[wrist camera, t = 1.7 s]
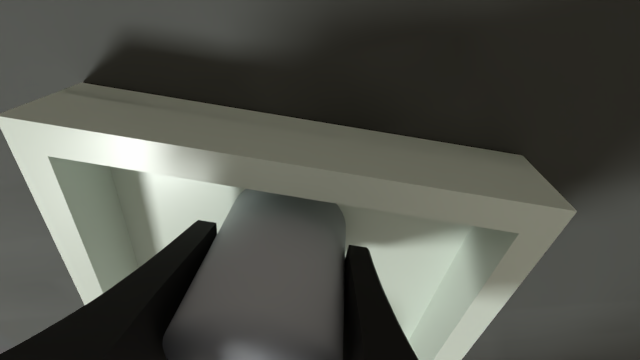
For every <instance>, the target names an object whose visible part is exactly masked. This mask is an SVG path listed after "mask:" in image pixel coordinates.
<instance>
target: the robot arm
mask: <svg viewBox="0 0 640 360" xmlns="http://www.w3.org/2000/svg"><path fill="white" fill-rule="evenodd" d="M216 236H217V225H216V223H214V222H208V221H202V220H197V221H196V222H195V223H193V224H192V225H191V226H190V227H189V228H187V229H186V230H185V231H184V232H183V233H181V234H180V235H179V236H178V237H177V238H175V239H174V240H173V241H172V242H171V243H169V244H168V245H167V246H166V247H165V248H163V249H162V250H161V251H160V252H158V253H157V254H156V255H154V256H153V257H152V258H151V259H149V260H148V261H147V262H146V263H144V264H143V265H142V266H140V267H139V268H138V269H136V270H135V271H134V272H132V273H131V274H130V275H128V276H127V277H125V278H124V279H123V280H121V281H120V282H119V283H117V284H116V285H114V286H113V287H112V288H110V289H109V290H107V291H106V292H104V293H103V294H101V295H100V296H98V297H97V298H95V299H94V300H92V301H91V302H89V303H88V304H86V305H85V306H83V307H81V308H80V309H78V310H77V311H75V312H74V313H72V314H70V315H69V316H67V317H65V318H64V319H62V320H60V321H59V322H57V323H55V324H54V325H52V326H50V327H48V328H47V329H45V330H43V331H42V332H40V333H38V334H36V335H35V336H33V337H31V338H29V339H28V340H26V341H24V342H22V343H20V344H19V345H17V346H15V347H13V348H11V349H9V350H7V351H5V352H3V353H2V354H0V360H168V359H167V357H166V356H165V353H164V350H163V345H162V343H163V337H164V334H165V332H166V330H167V328H168V326H169V324H170V322H171V320H172V319H173V317H174V315H175V313H176V311H177V309H178V307H179V305H180V303H181V302H182V300H183V298H184V296H185V294H186V292H187V290H188V288H189V287H190V285H191V283H192V281H193V279H194V277H195V275H196V273H197V271H198V270H199V268H200V266H201V264H202V262H203V260H204V258H205V256H206V254H207V253H208V251H209V249H210V247H211V245H212V243H213V241H214V239H215V237H216ZM343 360H418V358H417V356H416V354H415V352H414V351H413V349H412V347H411V345H410V343H409V342H408V340H407V338H406V336H405V334H404V332H403V330H402V328H401V326H400V324H399V322H398V320H397V318H396V316H395V314H394V312H393V310H392V307H391V305H390V303H389V301H388V299H387V296H386V294H385V292H384V289H383V287H382V285H381V282H380V280H379V277H378V274H377V272H376V269H375V266H374V264H373V261H372V258H371V254H370V251H369V249H368V248H367V247H361V246H355V245H349V246H348V250H347V253H346V257H345V289H344V332H343Z"/></svg>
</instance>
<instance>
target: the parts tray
mask: <svg viewBox="0 0 640 360" xmlns="http://www.w3.org/2000/svg"><path fill="white" fill-rule="evenodd" d="M0 128H1V130H2V132H3V134H4V136H5V138H6V141H7V143H8V145H9V147H10V149H11V151H12V153H13V155H14V157H15V159H16V162H17V164H18V166H19V168H20V170H21V172H22V174H23V176H24V178H25V181H26V183H27V185H28V187H29V189H30V191H31V193H32V195H33V197H34V199H35V202H36V204H37V206H38V208H39V210H40V212H41V214H42V216H43V218H44V220H45V223H46V225H47V227H48V229H49V231H50V233H51V235H52V237H53V239H54V242H55V244H56V246H57V248H58V250H59V252H60V254H61V256H62V258H63V260H64V263H65V265H66V267H67V269H68V271H69V273H70V275H71V277H72V279H73V282H74V284H75V286H76V288H77V290H78V292H79V294H80V296H81V298H82V300H83V303H84V305H86V304H88V303H89V302H91V301H92V300H94V299H95V298H97V297H98V296H100V295H101V294H103V293H104V292H106V291H107V290H109V289H110V288H112V287H113V286H114V285H116V284H117V283H119V282H120V281H121V280H123V279H124V278H125V277H127V276H128V275H130V274H131V273H132V272H134V271H135V270H136V269H138V268H139V267H140V266H142V265H143V264H144V263H146V262H147V261H148V260H149V259H151V258H152V257H153V256H154V255H156V254H157V253H158V252H160V251H161V250H162V249H163V248H165V247H166V246H167V245H168V244H169V243H171V242H172V241H173V240H174V239H175V238H177V237H178V236H179V235H180V234H181V233H183V232H184V231H185V230H186V229H187V228H189V227H190V226H191V225H192V224H193V223H195V222H196V221H197V220H202V221H208V222H214V223H216V225H217V234H218V232H219V230H220V228H221V226H222V224H223V222H224V221H225V219H226V217H227V215H228V213H229V211H230V209H231V207H232V205H233V204H234V202H235V200H236V199H237V197H238V196H239V195H240V194H241V193H242V191H244V190H245V189H251V190H257V191H263V192H269V193H275V194H281V195H287V196H293V197H299V198H305V199H312V200H318V201H324V202H330V203H336V204H337V205H338V206H339V208H340V210H341V211H342V213H343V216H344V219H345V223H346V247H345V257H346V253H347V250H348V246H349V245H355V246H361V247H367V248H368V249H369V251H370V254H371V258H372V261H373V264H374V266H375V269H376V272H377V274H378V277H379V280H380V282H381V285H382V287H383V289H384V292H385V294H386V296H387V299H388V301H389V303H390V305H391V307H392V310H393V312H394V314H395V316H396V318H397V320H398V322H399V324H400V326H401V328H402V330H403V332H404V334H405V336H406V338H407V340H408V342H409V343H410V345H411V347H412V349H413V351H414V352H415V354H416V356H417V358H418V360H462V358H463V357H464V356H465V354H466V353H467V352H468V351H469V349H470V348H471V347H472V346H473V344H474V343H475V342H476V340H477V339H478V338H479V337H480V335H481V334H482V333H483V331H484V330H485V329H486V328H487V326H488V325H489V324H490V322H491V321H492V320H493V319H494V317H495V316H496V315H497V313H498V312H499V311H500V310H501V308H502V307H503V306H504V304H505V303H506V302H507V301H508V299H509V298H510V297H511V296H512V294H513V293H514V292H515V290H516V289H517V288H518V287H519V285H520V284H521V283H522V281H523V280H524V279H525V278H526V276H527V275H528V274H529V272H530V271H531V270H532V269H533V267H534V266H535V265H536V263H537V262H538V261H539V260H540V258H541V257H542V256H543V254H544V253H545V252H546V251H547V249H548V248H549V247H550V246H551V244H552V243H553V242H554V240H555V239H556V238H557V237H558V235H559V234H560V233H561V231H562V230H563V229H564V228H565V226H566V225H567V224H568V222H569V221H570V220H571V219H572V217H573V216H574V215H575V213H576V212H577V211H576V210H575V209H574V208H573V207H572V206H571V205H570V204H569V203H568V202H567V201H566V199H565V198H564V197H563V196H562V195H561V194H560V193H559V192H558V191H557V190H556V189H555V188H554V187H553V186H552V185H551V184H550V183H549V182H548V181H547V180H546V179H545V178H544V177H543V176H542V175H541V174H540V173H539V172H538V171H537V170H536V169H535V168H534V167H533V166H532V165H531V164H530V163H529V162H528V161H527V160H526V158H525V157H524V156H523V155H517V154H511V153H505V152H499V151H493V150H487V149H481V148H475V147H469V146H463V145H457V144H451V143H445V142H438V141H432V140H426V139H420V138H414V137H408V136H402V135H396V134H390V133H384V132H378V131H372V130H366V129H360V128H354V127H348V126H342V125H335V124H329V123H323V122H317V121H311V120H305V119H299V118H293V117H287V116H281V115H275V114H269V113H263V112H257V111H251V110H245V109H239V108H233V107H226V106H220V105H214V104H208V103H202V102H196V101H190V100H184V99H178V98H172V97H166V96H160V95H154V94H148V93H142V92H136V91H130V90H123V89H117V88H111V87H105V86H99V85H93V84H87V83H79V84H77V85H74V86H71V87H69V88H66V89H63V90H61V91H58V92H56V93H53V94H50V95H48V96H45V97H42V98H40V99H37V100H34V101H32V102H29V103H26V104H24V105H21V106H19V107H16V108H13V109H11V110H8V111H5V112H3V113H0Z"/></svg>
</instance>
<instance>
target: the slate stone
mask: <svg viewBox="0 0 640 360" xmlns="http://www.w3.org/2000/svg"><path fill="white" fill-rule="evenodd" d="M345 247H346V223H345V219H344V216H343V213H342V211H341V210H340V208H339V206H338V205H337V204H336V203H330V202H324V201H318V200H312V199H305V198H299V197H293V196H287V195H281V194H275V193H269V192H263V191H257V190H251V189H245V190H244V191H242V193H241V194H240V195H239V196H238V197H237V199H236V200H235V202H234V204H233V205H232V207H231V209H230V211H229V213H228V215H227V217H226V219H225V221H224V222H223V224H222V226H221V228H220V230H219V232H218V234H217V236H216V237H215V239H214V241H213V243H212V245H211V247H210V249H209V251H208V253H207V254H206V256H205V258H204V260H203V262H202V264H201V266H200V268H199V270H198V271H197V273H196V275H195V277H194V279H193V281H192V283H191V285H190V287H189V288H188V290H187V292H186V294H185V296H184V298H183V300H182V302H181V303H180V305H179V307H178V309H177V311H176V313H175V315H174V317H173V319H172V320H171V322H170V324H169V326H168V328H167V330H166V332H165V334H164V337H163V343H162V345H163V350H164V353H165V356H166V357H167V359H168V360H343V332H344V289H345Z"/></svg>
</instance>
